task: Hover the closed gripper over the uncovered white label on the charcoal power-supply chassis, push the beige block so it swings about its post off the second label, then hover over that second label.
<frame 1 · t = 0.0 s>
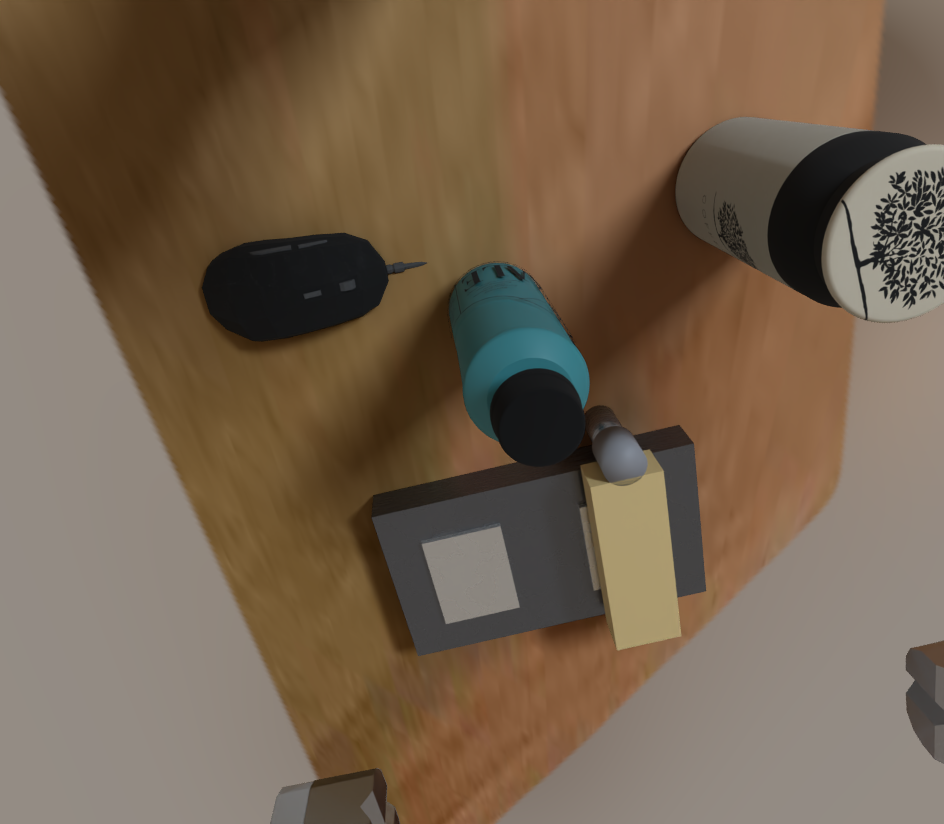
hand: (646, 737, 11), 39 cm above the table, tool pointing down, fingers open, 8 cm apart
beige block: (630, 540, 51), point 6 cm above the table, hinge at 0.0°
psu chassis: (540, 533, 56), on the table
beverage bottle: (491, 298, 48), on the table
gaming mouse: (320, 278, 47), on the table
travel mug: (732, 182, 46), on the table
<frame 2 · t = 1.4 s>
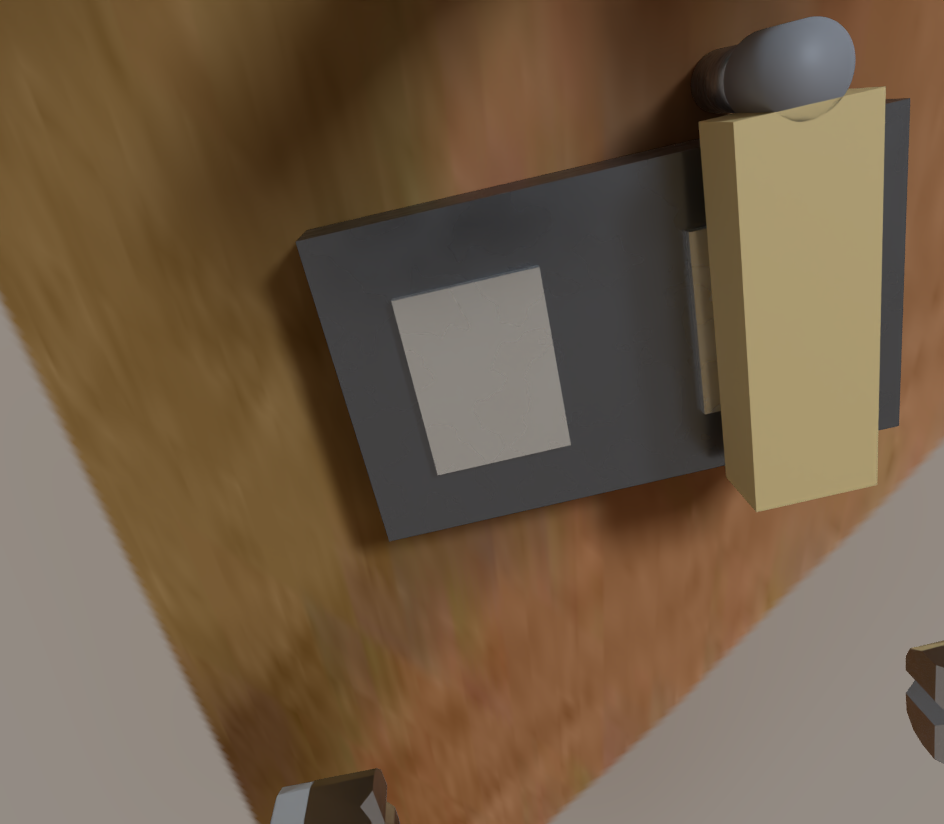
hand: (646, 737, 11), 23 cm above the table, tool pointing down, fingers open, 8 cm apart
beige block: (791, 282, 26), point 5 cm above the table, hinge at 0.0°
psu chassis: (605, 322, 32), on the table
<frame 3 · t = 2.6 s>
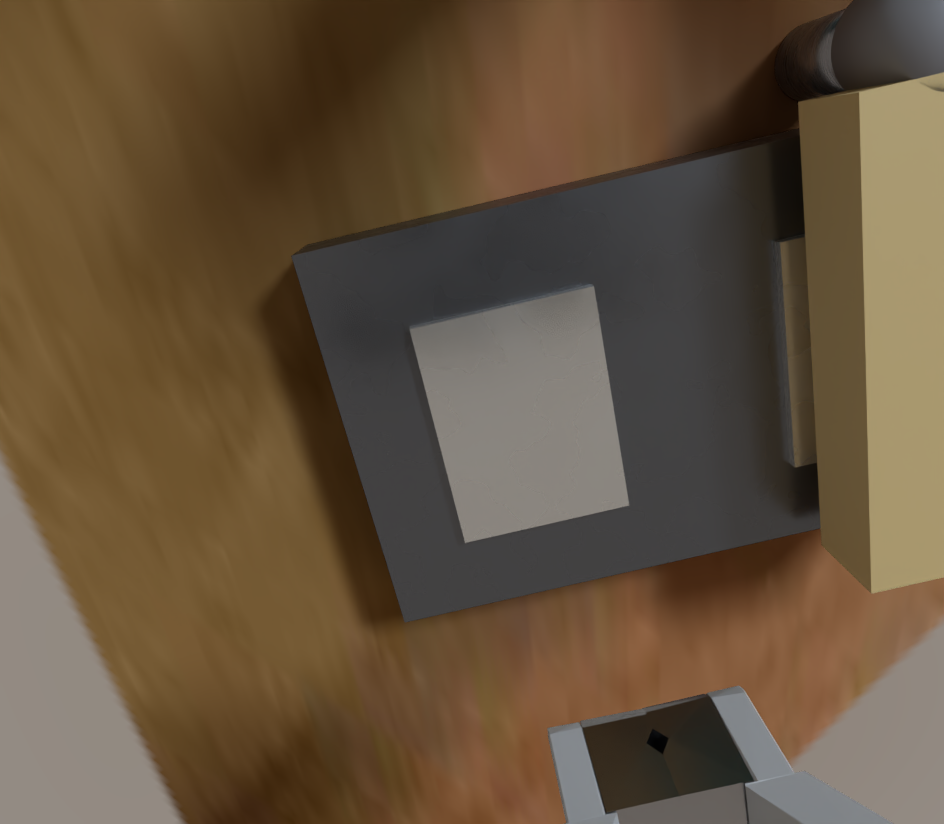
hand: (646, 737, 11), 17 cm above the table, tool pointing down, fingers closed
beige block: (917, 302, 21), point 6 cm above the table, hinge at 0.0°
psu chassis: (667, 355, 27), on the table
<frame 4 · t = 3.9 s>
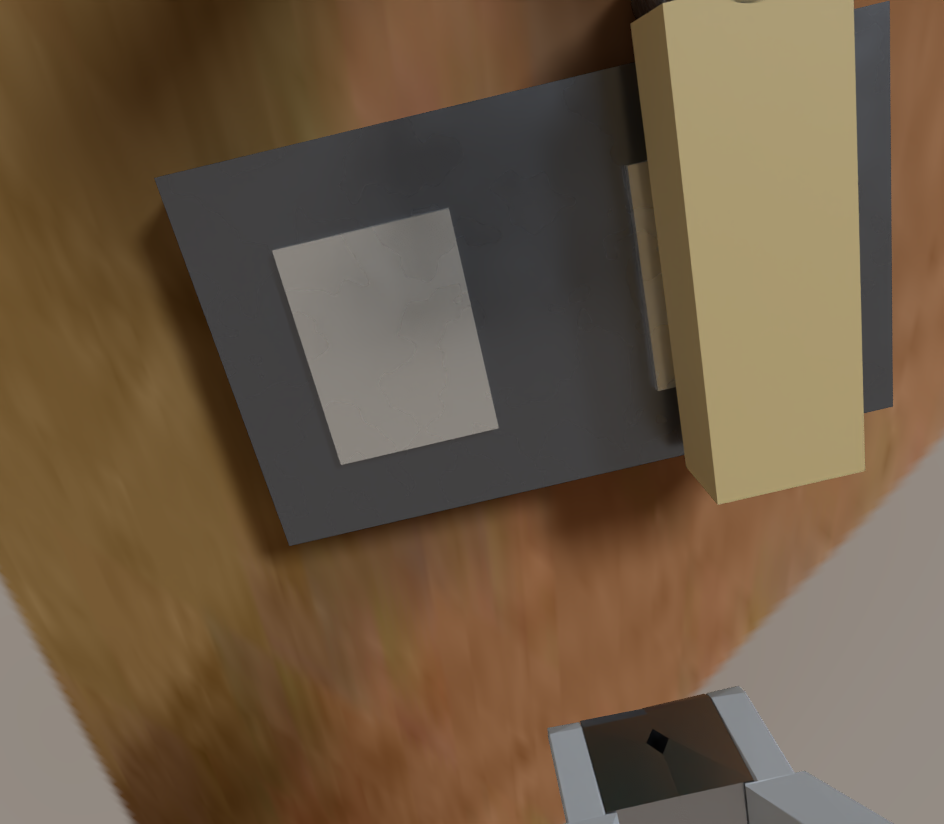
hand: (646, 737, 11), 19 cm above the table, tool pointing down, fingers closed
beige block: (750, 219, 22), point 5 cm above the table, hinge at 0.0°
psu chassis: (543, 287, 27), on the table
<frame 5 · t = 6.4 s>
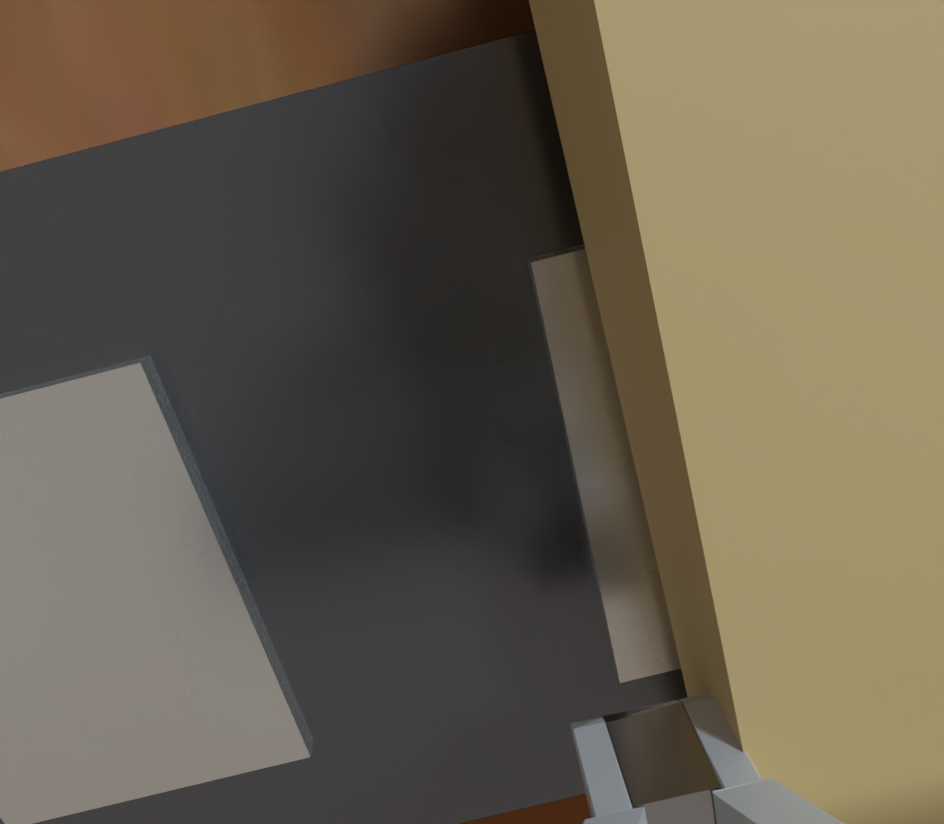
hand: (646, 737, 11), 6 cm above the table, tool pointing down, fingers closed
beige block: (840, 392, 9), point 6 cm above the table, hinge at 2.5°, touching gripper
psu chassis: (411, 458, 15), on the table
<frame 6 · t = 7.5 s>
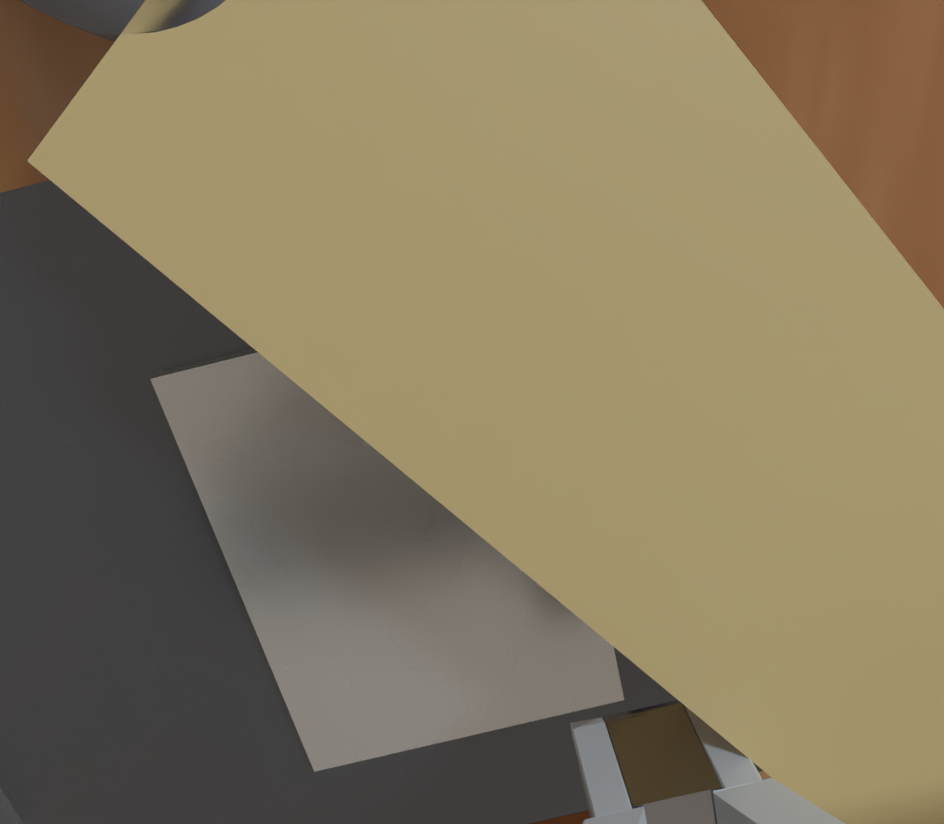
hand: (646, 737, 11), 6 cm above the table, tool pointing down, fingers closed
beige block: (652, 378, 9), point 5 cm above the table, hinge at 32.6°, touching gripper
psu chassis: (148, 537, 15), on the table
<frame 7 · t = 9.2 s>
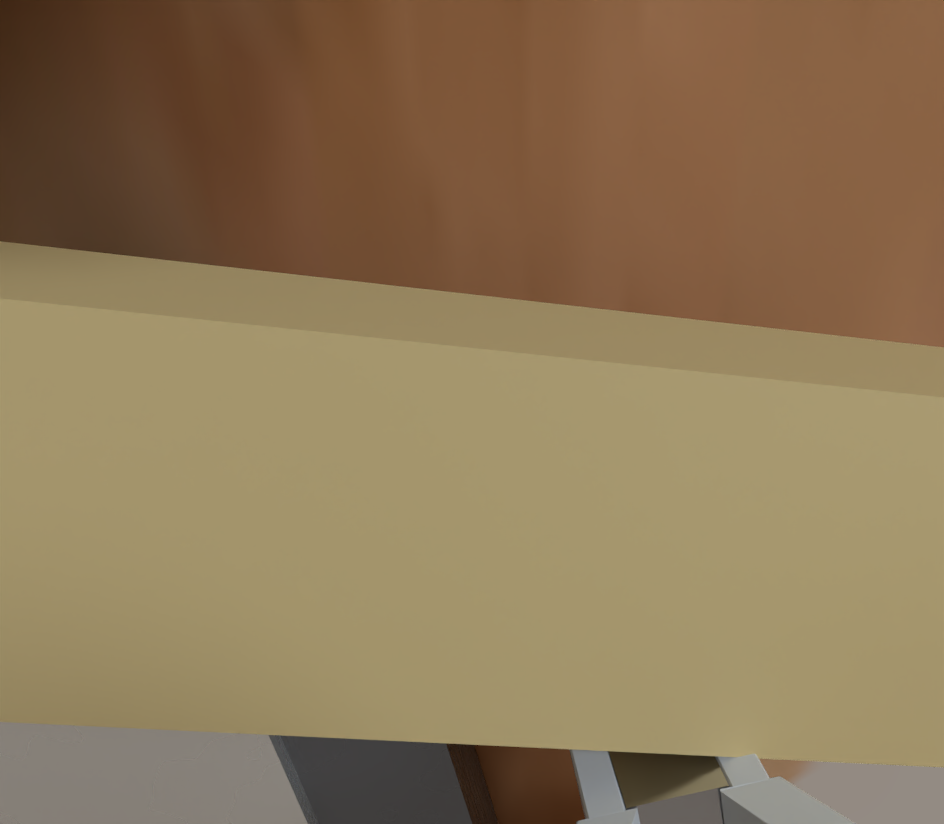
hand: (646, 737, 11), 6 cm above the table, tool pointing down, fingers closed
beige block: (384, 498, 9), point 6 cm above the table, hinge at 69.5°, touching gripper
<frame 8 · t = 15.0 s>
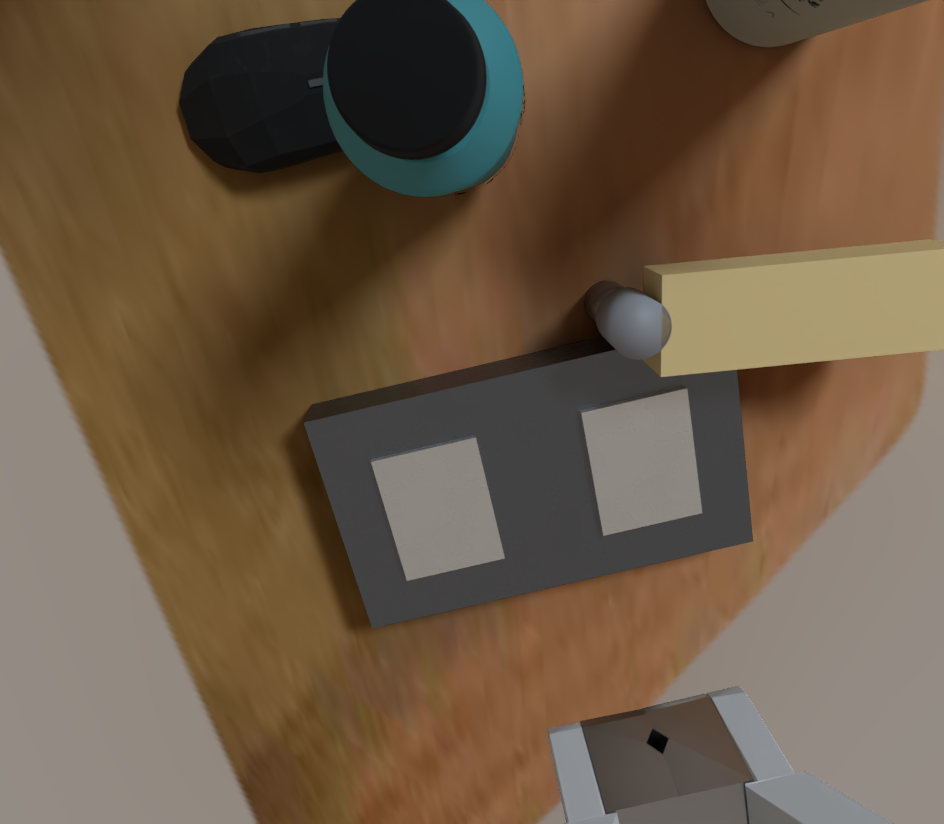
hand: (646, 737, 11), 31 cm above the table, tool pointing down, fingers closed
beige block: (774, 309, 35), point 5 cm above the table, hinge at 82.0°
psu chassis: (533, 464, 43), on the table
beverage bottle: (456, 124, 36), on the table
gaming mouse: (331, 89, 36), on the table
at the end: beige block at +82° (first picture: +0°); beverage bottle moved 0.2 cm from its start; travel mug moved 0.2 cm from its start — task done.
